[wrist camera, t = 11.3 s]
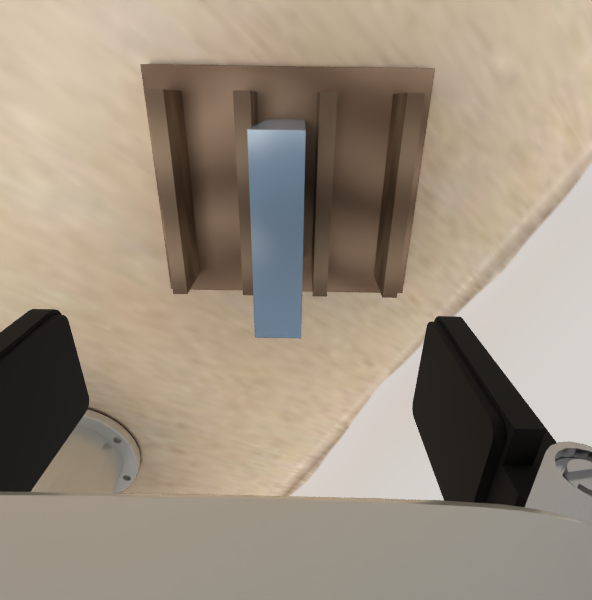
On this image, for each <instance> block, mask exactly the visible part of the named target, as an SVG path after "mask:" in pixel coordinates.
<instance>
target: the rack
mask: <svg viewBox="0 0 592 600" xmlns="http://www.w3.org/2000/svg"><path fill="white" fill-rule="evenodd" d="M434 71H435V68H365V67H296V66H227V65H158V64H141V72H142V79H143V86H144V93H145V101H146V108H147V115H148V122H149V130H150V137H151V144H152V151H153V159H154V166H155V173H156V181H157V188H158V195H159V202H160V210H161V217H162V224H163V231H164V239H165V246H166V253H167V260H168V268H169V275H170V282H171V289H173V294H188V292H189V290H190V289H198V290H243V295H253V270H252V243H251V217H250V190H249V163H248V136H247V129H249V128H251V127H253V126H255V125H257V124H259V123H261V122H263V121H265V120H267V119H304V123H305V129H306V138H305V183H304V228H303V273H302V291H313V296H327V292H375V293H381V295H382V297H393V298H397V293H402V291H403V284H404V277H405V270H406V263H407V257H408V250H409V243H410V236H411V229H412V222H413V215H414V208H415V201H416V195H417V188H418V181H419V174H420V167H421V160H422V153H423V146H424V140H425V133H426V126H427V119H428V112H429V105H430V98H431V91H432V84H433V78H434Z"/></svg>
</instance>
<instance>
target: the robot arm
mask: <svg viewBox="0 0 592 600" xmlns="http://www.w3.org/2000/svg"><path fill="white" fill-rule="evenodd" d="M88 406H89V396H88V392H87V388H86V385H85V381H84V377H83V373H82V370H81V366H80V362H79V358H78V355H77V351H76V347H75V344H74V340H73V336H72V332H71V329H70V325H69V321H68V319H67V317H66V316H64V315H62V314H61V313H60V312H59V311H58V310H53V309H32V310H30V311H28V312H27V313H25V314H24V315H23V316H22V317H20V318H19V319H18V320H16V321H15V322H14V323H12V324H11V325H10V326H8V327H7V328H6V329H4V330H3V331H2V332H1V333H0V600H592V447H590V446H587V445H584V444H580V443H574V442H559V443H556V441H555V440H554V439H553V437H552V436H551V435H550V433H549V432H548V431H547V429H546V428H545V427H544V425H543V424H542V423H541V421H540V420H539V419H538V417H537V416H536V415H535V413H534V412H533V411H532V409H531V408H530V407H529V406H528V404H527V403H526V402H525V401H524V399H523V398H522V396H521V395H520V394H519V392H518V391H517V390H516V388H515V387H514V386H513V385H512V383H511V382H510V381H509V379H508V378H507V377H506V375H505V374H504V373H503V371H502V370H501V369H500V367H499V366H498V365H497V364H496V362H495V361H494V360H493V358H492V357H491V356H490V354H489V353H488V352H487V350H486V349H485V348H484V346H483V345H482V344H481V342H480V341H479V340H478V339H477V337H476V336H475V335H474V333H473V332H472V331H471V329H470V328H469V327H468V326H467V324H466V323H465V321H464V320H463V319H462V318H461V317H446V316H437V317H436V319H435V321H434V322H429V323H428V325H427V329H426V334H425V340H424V345H423V350H422V356H421V362H420V367H419V372H418V378H417V384H416V389H415V394H414V399H413V415H414V419H415V422H416V425H417V427H418V430H419V433H420V436H421V438H422V441H423V444H424V446H425V449H426V452H427V454H428V457H429V460H430V463H431V465H432V468H433V471H434V474H435V476H436V479H437V482H438V485H439V487H440V490H441V493H442V496H443V498H444V501H440V500H405V499H380V498H378V499H377V498H338V497H337V498H336V497H295V496H294V497H293V496H253V495H200V494H143V493H120V492H122V491H123V490H125V489H126V488H128V487H129V486H130V484H131V483H132V482H133V481H134V479H135V477H136V475H137V473H138V470H139V467H140V460H141V457H140V452H139V448H138V446H137V444H136V442H135V440H134V439H133V438H132V437H131V435H130V434H129V433H128V432H127V431H126V430H125V429H124V428H123V427H122V426H121V425H119V424H118V423H117V422H115V421H114V420H112V419H111V418H108V417H106V416H104V415H102V414H100V413H97V412H95V411H92V410H89V409H88Z"/></svg>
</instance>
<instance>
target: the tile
mask: <svg viewBox="0 0 592 600" xmlns="http://www.w3.org/2000/svg"><path fill="white" fill-rule="evenodd" d="M247 136H248V163H249V190H250V217H251V243H252V270H253V297H254V323H255V338H301V317H302V273H303V228H304V183H305V138H306V129H305V123H304V119H267V120H265V121H263V122H261V123H259V124H257V125H255V126H253V127H251V128H249V129H247Z"/></svg>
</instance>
